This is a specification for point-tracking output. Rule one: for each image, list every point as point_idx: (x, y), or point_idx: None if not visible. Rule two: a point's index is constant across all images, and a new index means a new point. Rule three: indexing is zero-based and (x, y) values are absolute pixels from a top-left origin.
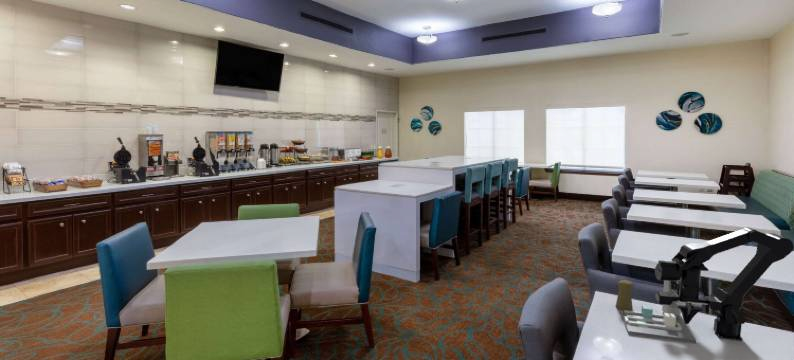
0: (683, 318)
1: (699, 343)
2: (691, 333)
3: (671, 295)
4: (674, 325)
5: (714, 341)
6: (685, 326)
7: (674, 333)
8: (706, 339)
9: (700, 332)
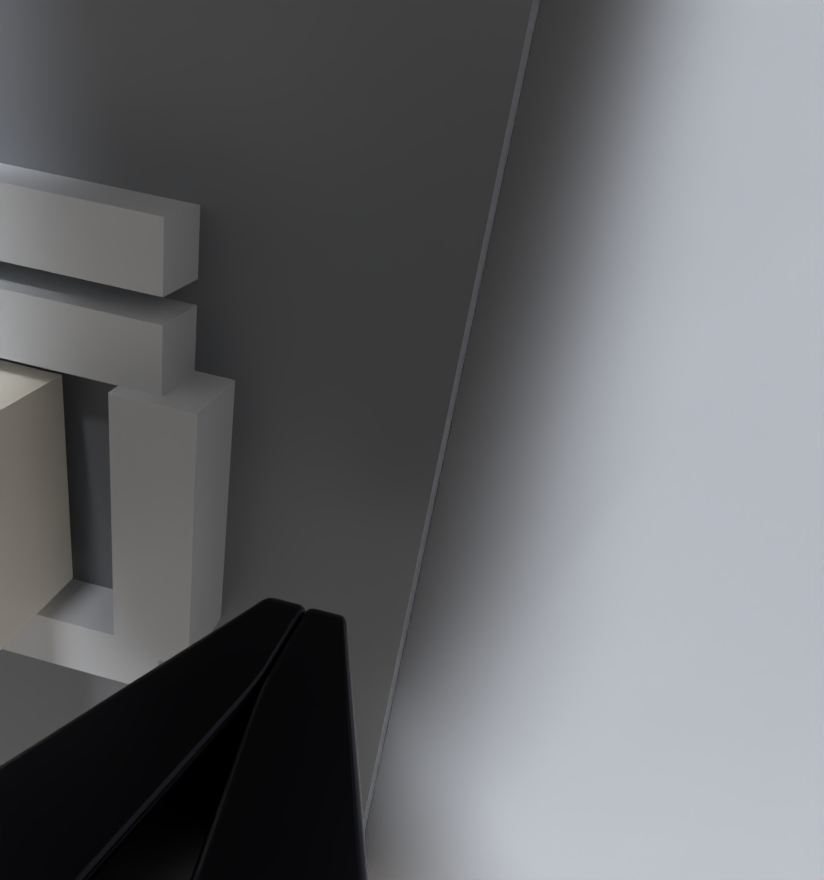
0: (152, 702)
1: (422, 864)
2: (372, 743)
3: None
4: (9, 616)
5: (767, 836)
6: (397, 422)
7: (33, 731)
8: (651, 771)
9: (743, 505)
